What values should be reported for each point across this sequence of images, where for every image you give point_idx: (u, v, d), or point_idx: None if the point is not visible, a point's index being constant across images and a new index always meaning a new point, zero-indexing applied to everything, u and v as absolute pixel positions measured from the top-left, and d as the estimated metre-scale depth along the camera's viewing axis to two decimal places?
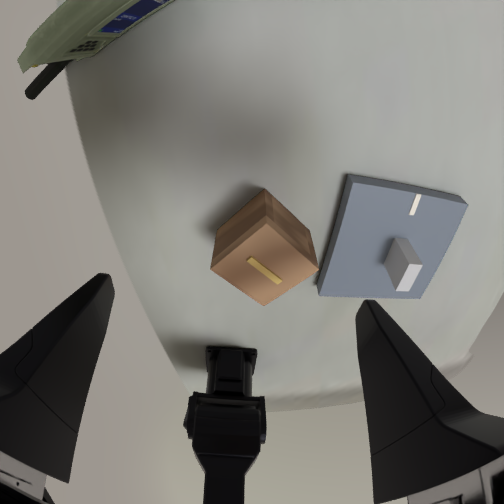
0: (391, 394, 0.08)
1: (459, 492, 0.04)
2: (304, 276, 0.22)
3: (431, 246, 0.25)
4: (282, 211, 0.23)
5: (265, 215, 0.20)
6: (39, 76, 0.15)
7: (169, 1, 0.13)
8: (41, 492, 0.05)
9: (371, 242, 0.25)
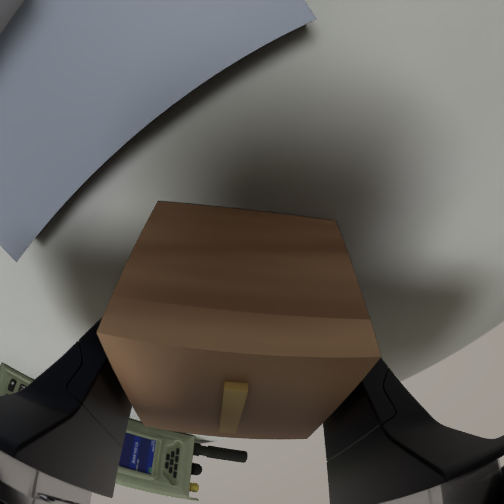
0: None
1: None
2: (156, 350, 0.05)
3: None
4: None
5: None
6: (224, 459, 0.24)
7: None
8: None
9: (17, 100, 0.05)
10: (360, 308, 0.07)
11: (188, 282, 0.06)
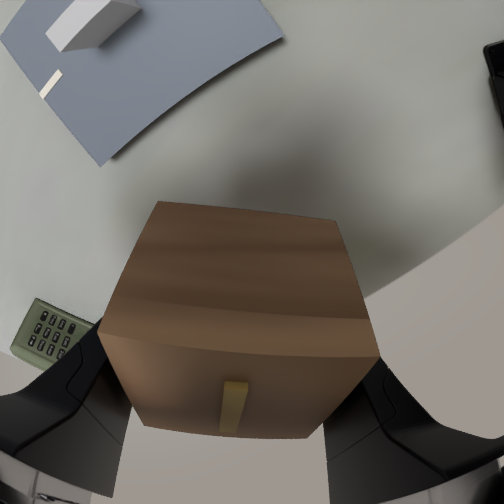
0: None
1: None
2: (156, 349, 0.05)
3: None
4: None
5: None
6: None
7: None
8: None
9: (130, 64, 0.12)
10: (360, 308, 0.07)
11: (188, 282, 0.07)
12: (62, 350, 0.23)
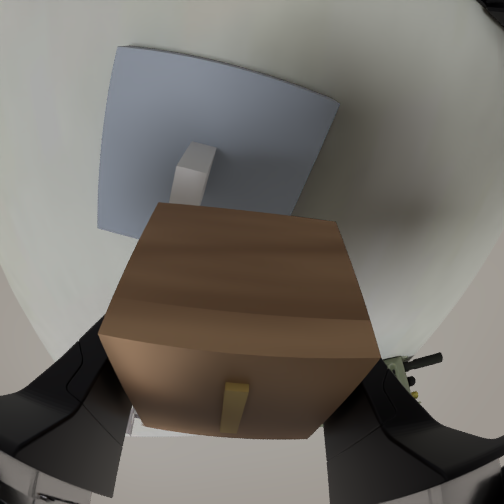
0: None
1: None
2: (157, 351, 0.05)
3: (132, 169, 0.16)
4: None
5: None
6: (427, 365, 0.30)
7: None
8: None
9: (241, 192, 0.17)
10: (360, 309, 0.07)
11: (189, 283, 0.07)
12: None
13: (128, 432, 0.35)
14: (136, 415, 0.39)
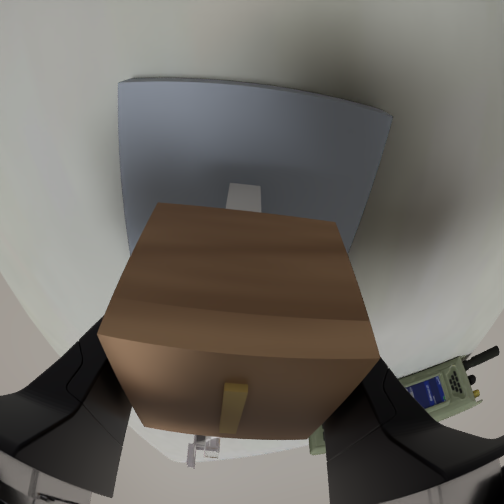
0: None
1: None
2: (156, 351, 0.05)
3: None
4: None
5: None
6: None
7: (407, 386, 0.28)
8: None
9: None
10: (359, 309, 0.07)
11: (188, 284, 0.07)
12: None
13: (191, 466, 0.34)
14: (197, 447, 0.38)
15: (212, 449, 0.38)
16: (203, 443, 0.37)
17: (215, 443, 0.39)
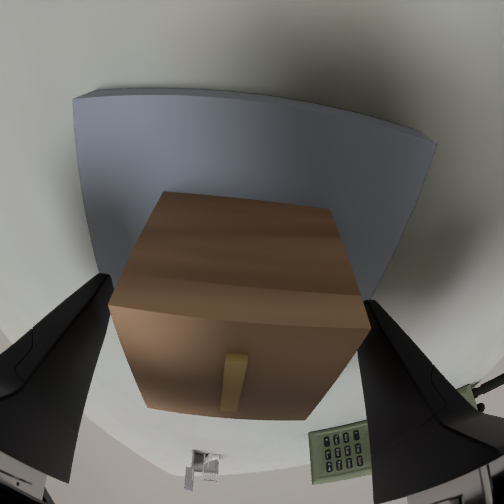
0: (391, 394, 0.08)
1: (459, 492, 0.04)
2: (162, 320, 0.06)
3: None
4: None
5: None
6: None
7: None
8: (41, 492, 0.05)
9: None
10: (351, 285, 0.07)
11: (192, 261, 0.07)
12: (359, 456, 0.24)
13: (189, 489, 0.31)
14: None
15: (210, 471, 0.35)
16: (201, 466, 0.34)
17: (214, 465, 0.36)
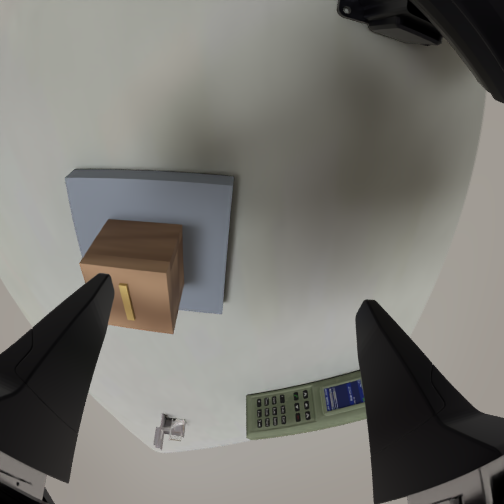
0: (391, 394, 0.08)
1: (459, 492, 0.04)
2: (96, 268, 0.16)
3: None
4: None
5: None
6: None
7: (330, 386, 0.35)
8: (41, 492, 0.05)
9: (183, 264, 0.22)
10: (168, 258, 0.17)
11: (111, 248, 0.17)
12: (283, 416, 0.34)
13: (158, 446, 0.41)
14: (165, 431, 0.45)
15: (177, 434, 0.45)
16: (169, 428, 0.44)
17: (180, 429, 0.46)
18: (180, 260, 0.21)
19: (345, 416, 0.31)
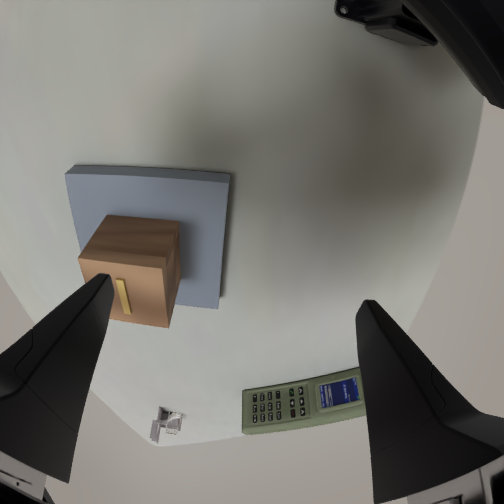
0: (391, 394, 0.08)
1: (459, 492, 0.04)
2: (94, 263, 0.17)
3: None
4: None
5: None
6: None
7: (326, 383, 0.36)
8: (41, 492, 0.05)
9: None
10: (164, 253, 0.18)
11: (108, 244, 0.18)
12: (279, 412, 0.35)
13: (155, 440, 0.42)
14: (162, 425, 0.45)
15: (174, 427, 0.45)
16: (166, 421, 0.45)
17: (177, 423, 0.46)
18: (177, 256, 0.21)
19: (339, 413, 0.32)
